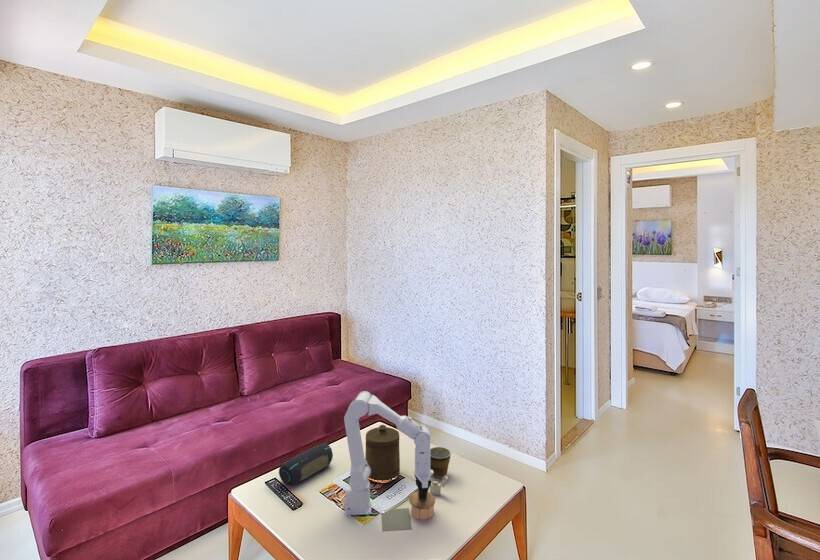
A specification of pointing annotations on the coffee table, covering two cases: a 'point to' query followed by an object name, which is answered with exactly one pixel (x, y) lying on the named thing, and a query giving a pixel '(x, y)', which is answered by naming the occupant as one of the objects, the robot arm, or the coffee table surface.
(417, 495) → the lid
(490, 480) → the coffee table surface
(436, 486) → the lighter
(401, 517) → the mat
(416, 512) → the bowl
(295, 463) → the portable speaker
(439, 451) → the ceramic cup
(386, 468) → the wooden container
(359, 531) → the coffee table surface
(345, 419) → the robot arm
